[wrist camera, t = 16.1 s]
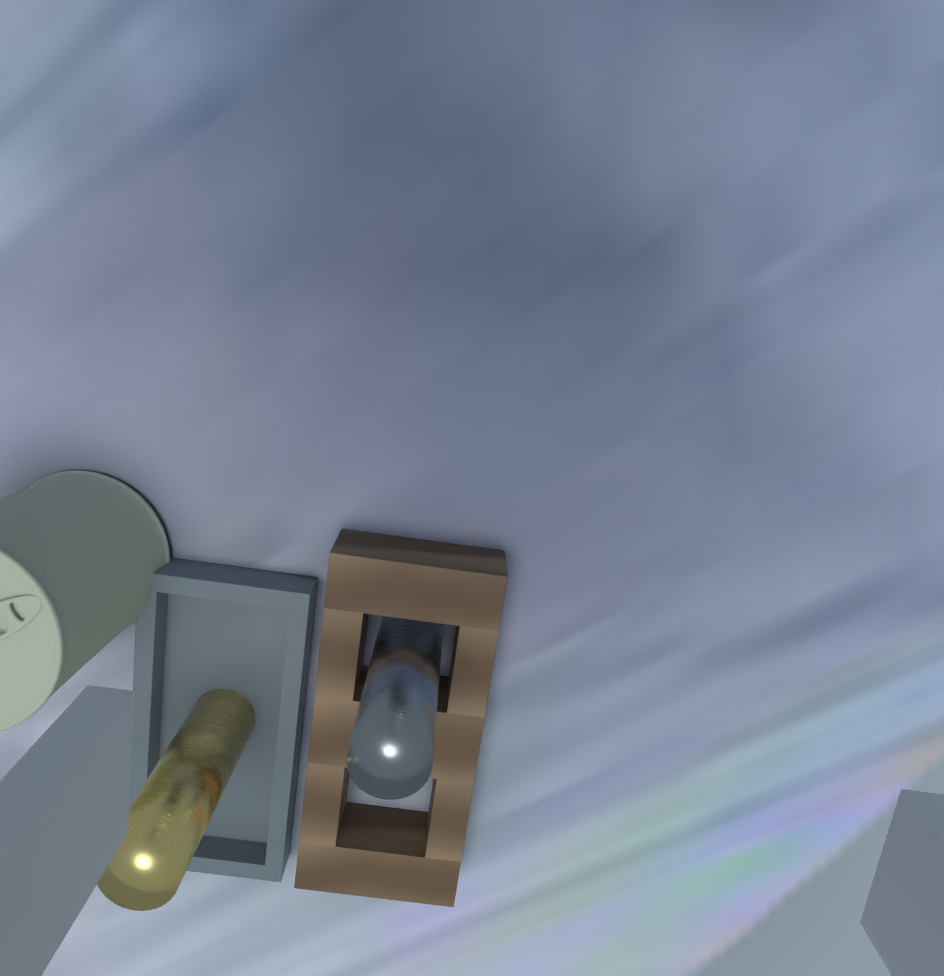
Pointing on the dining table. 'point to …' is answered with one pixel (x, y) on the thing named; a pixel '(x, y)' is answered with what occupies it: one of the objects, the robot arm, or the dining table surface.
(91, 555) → the can
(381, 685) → the steel pin
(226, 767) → the brass pin
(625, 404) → the dining table surface
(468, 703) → the block
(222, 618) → the tray
